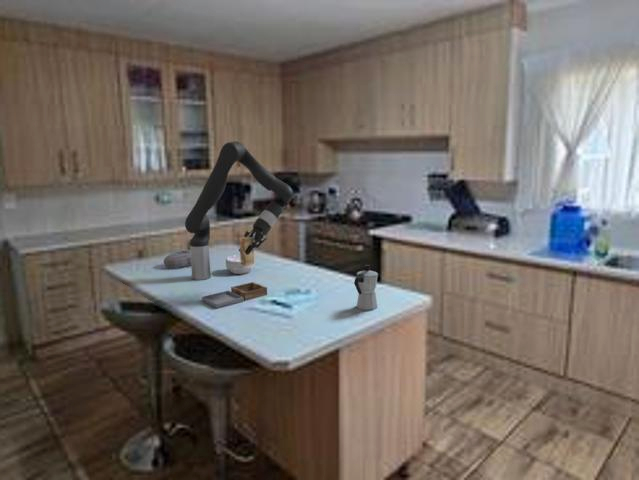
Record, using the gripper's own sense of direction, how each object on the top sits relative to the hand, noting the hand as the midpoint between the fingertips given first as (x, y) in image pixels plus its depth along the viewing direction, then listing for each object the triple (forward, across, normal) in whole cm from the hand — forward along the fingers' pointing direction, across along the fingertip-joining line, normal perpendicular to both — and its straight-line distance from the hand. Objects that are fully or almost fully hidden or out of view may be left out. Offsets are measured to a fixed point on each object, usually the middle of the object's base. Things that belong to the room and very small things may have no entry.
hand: (243, 252), depth 200 cm
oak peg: (+3, 0, +5) cm, 6 cm away
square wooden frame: (+13, 0, +16) cm, 20 cm away
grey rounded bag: (+13, -72, +16) cm, 74 cm away
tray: (+22, 0, +6) cm, 23 cm away
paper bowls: (0, -36, +29) cm, 46 cm away
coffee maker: (-6, +48, +34) cm, 59 cm away
